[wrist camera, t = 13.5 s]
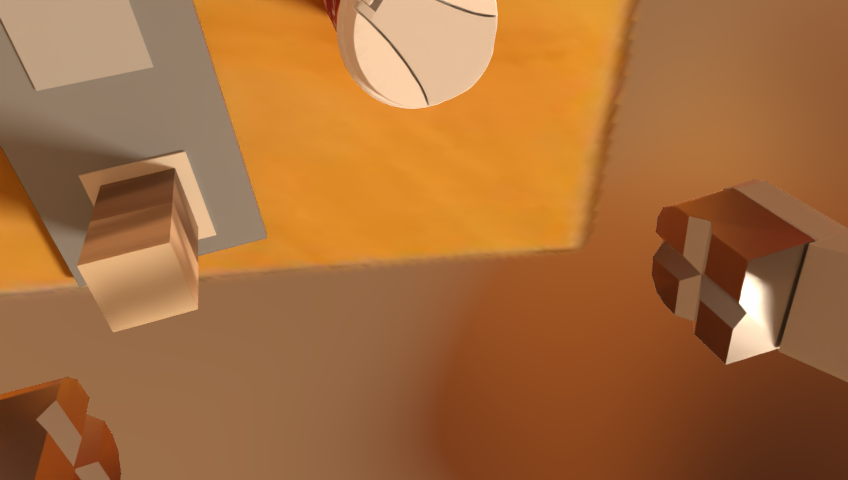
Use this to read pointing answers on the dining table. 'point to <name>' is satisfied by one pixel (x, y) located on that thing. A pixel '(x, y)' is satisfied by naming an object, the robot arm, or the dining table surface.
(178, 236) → the maple block
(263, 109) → the dining table surface
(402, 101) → the coffee cup
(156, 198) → the walnut block
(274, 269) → the dining table surface
